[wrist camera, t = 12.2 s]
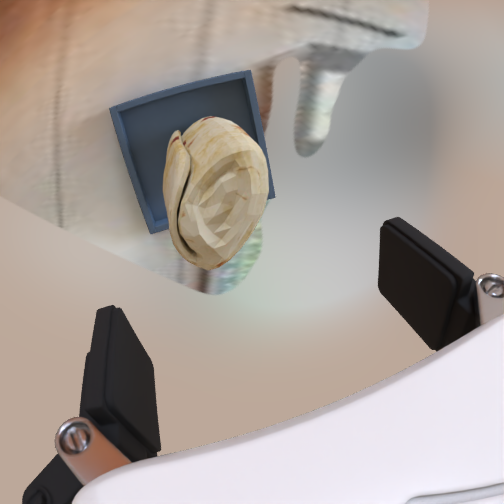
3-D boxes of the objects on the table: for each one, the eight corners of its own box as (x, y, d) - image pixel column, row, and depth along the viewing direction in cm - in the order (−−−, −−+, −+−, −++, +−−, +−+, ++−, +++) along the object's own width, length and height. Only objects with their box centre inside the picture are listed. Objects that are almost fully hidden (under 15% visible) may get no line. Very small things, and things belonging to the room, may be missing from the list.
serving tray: (151, 227, 39) (150, 234, 37) (112, 107, 31) (108, 108, 29) (270, 192, 41) (275, 197, 39) (246, 70, 33) (250, 69, 31)
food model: (205, 196, 39) (241, 295, 22) (152, 180, 36) (142, 271, 19) (237, 121, 35) (307, 158, 18) (182, 100, 32) (199, 113, 16)
